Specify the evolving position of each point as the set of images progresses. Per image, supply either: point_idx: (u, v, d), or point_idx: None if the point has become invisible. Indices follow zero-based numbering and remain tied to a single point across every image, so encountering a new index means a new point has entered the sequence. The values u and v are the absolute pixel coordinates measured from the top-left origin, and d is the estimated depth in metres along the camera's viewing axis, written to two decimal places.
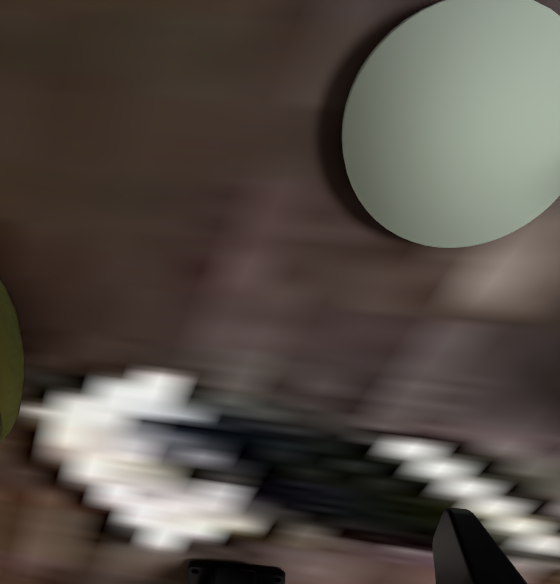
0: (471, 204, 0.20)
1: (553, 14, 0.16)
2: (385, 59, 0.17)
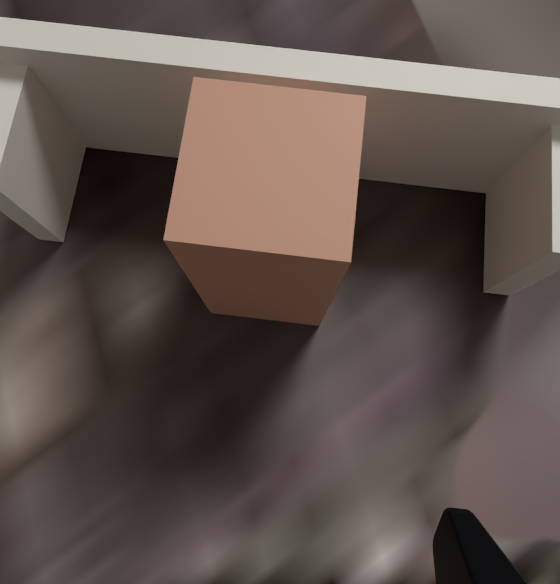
0: None
1: None
2: None
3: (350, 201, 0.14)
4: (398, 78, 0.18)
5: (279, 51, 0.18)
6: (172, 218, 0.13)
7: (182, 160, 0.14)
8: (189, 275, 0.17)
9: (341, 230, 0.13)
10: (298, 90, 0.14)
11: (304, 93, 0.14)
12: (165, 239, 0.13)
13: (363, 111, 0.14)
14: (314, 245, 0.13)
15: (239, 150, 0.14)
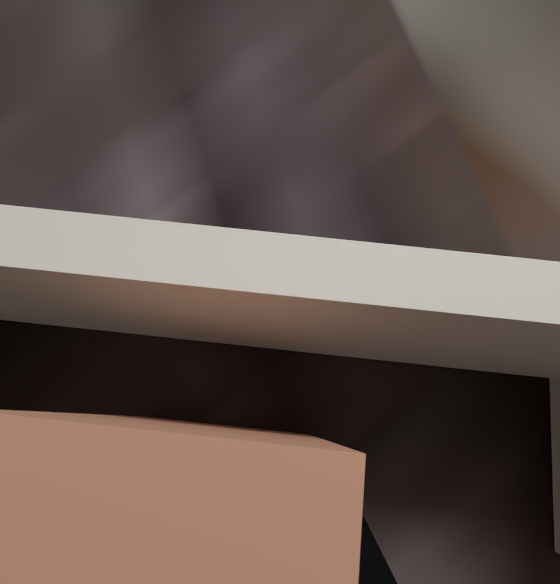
0: None
1: None
2: None
3: None
4: (425, 284, 0.09)
5: (195, 232, 0.09)
6: None
7: None
8: None
9: None
10: (192, 441, 0.06)
11: (209, 447, 0.06)
12: None
13: (359, 502, 0.06)
14: None
15: None
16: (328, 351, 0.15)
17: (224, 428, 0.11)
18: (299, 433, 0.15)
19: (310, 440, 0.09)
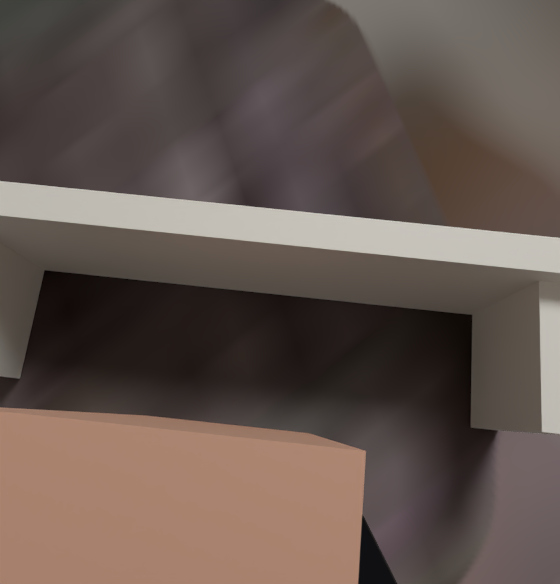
0: None
1: None
2: None
3: None
4: (371, 239, 0.16)
5: (240, 210, 0.17)
6: None
7: None
8: None
9: None
10: (192, 439, 0.06)
11: (209, 444, 0.06)
12: None
13: (359, 499, 0.06)
14: None
15: None
16: (319, 295, 0.22)
17: None
18: (299, 432, 0.15)
19: (310, 438, 0.09)
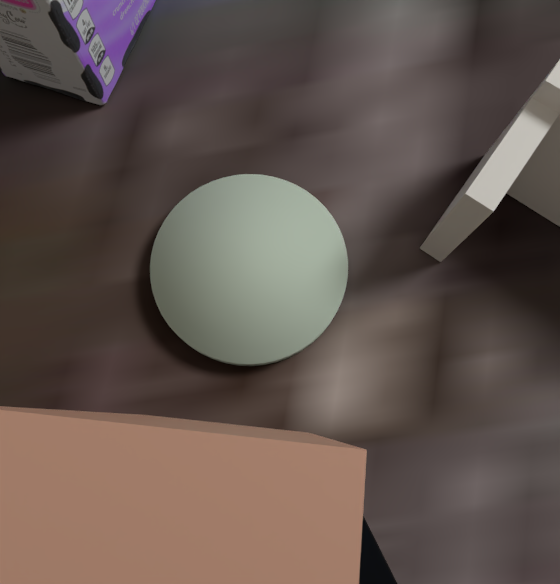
0: (276, 316, 0.22)
1: (277, 179, 0.24)
2: (171, 227, 0.23)
3: None
4: None
5: None
6: None
7: None
8: None
9: None
10: (192, 437, 0.06)
11: (209, 443, 0.06)
12: None
13: (360, 498, 0.06)
14: None
15: None
16: None
17: (224, 426, 0.11)
18: None
19: (310, 437, 0.09)
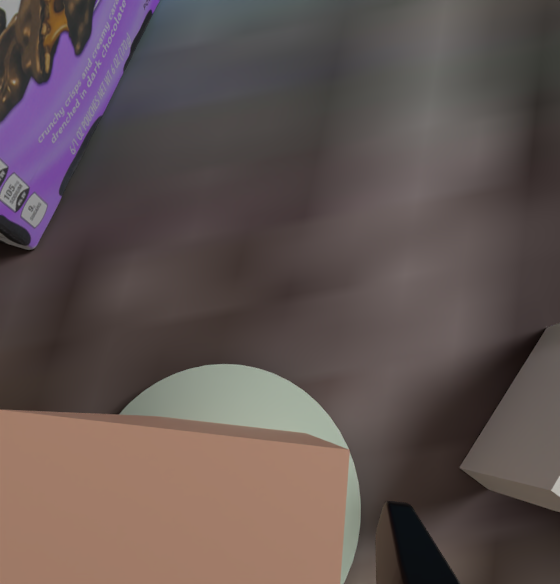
0: None
1: (263, 372, 0.17)
2: None
3: None
4: None
5: None
6: None
7: None
8: None
9: None
10: (210, 439, 0.07)
11: (223, 444, 0.07)
12: None
13: (343, 488, 0.07)
14: None
15: None
16: None
17: None
18: (297, 432, 0.16)
19: (306, 438, 0.10)
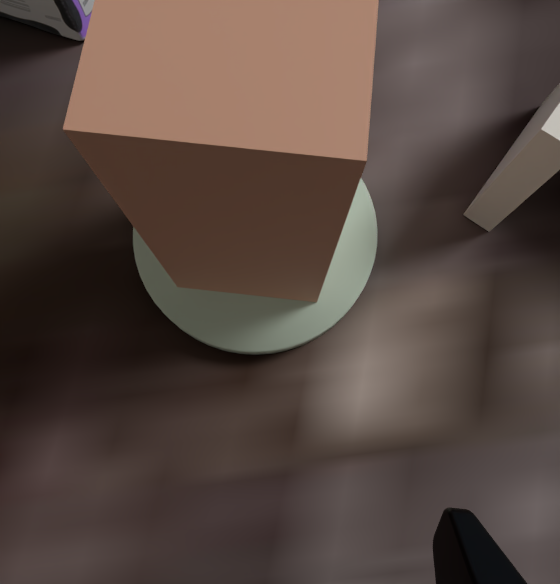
0: None
1: None
2: None
3: (363, 70, 0.09)
4: None
5: None
6: (78, 96, 0.08)
7: (98, 11, 0.09)
8: (129, 214, 0.12)
9: (350, 113, 0.08)
10: None
11: None
12: (66, 128, 0.08)
13: None
14: (307, 135, 0.08)
15: None
16: None
17: None
18: None
19: None
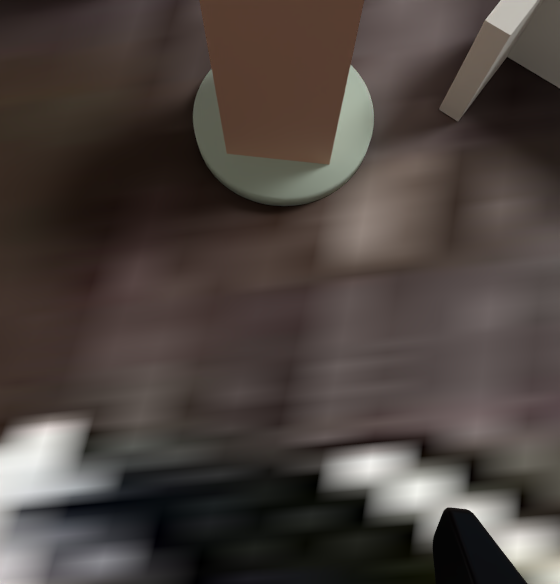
0: None
1: None
2: (212, 81, 0.25)
3: None
4: None
5: None
6: None
7: None
8: (213, 60, 0.18)
9: None
10: None
11: None
12: None
13: None
14: None
15: None
16: None
17: None
18: None
19: None
